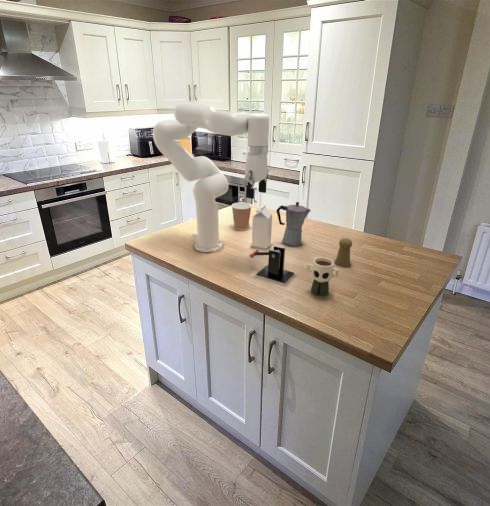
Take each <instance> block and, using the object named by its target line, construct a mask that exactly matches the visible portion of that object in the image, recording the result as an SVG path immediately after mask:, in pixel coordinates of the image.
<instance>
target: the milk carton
mask: <svg viewBox="0 0 490 506" xmlns="http://www.w3.org/2000/svg"><path fill="white" fill-rule="evenodd" d="M272 223H273V213H272V212H271V211H270V210H269V209H268V208H267V206H266V204H264V205H263V206H262V207H261V208H257V209H256V210H255V214H254V215H253V216H252V227H251V228H252V230H251V247H254V248H261V249H269V247H270V246H271V244H272V229H273V228H272V226H273V224H272Z"/></svg>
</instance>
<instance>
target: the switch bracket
mask: <svg viewBox="0 0 490 506" xmlns="http://www.w3.org/2000/svg"><path fill="white" fill-rule="evenodd" d="M274 249H281V252H280V251H276V250H274ZM268 252H269V255H268V259H267V260H268V261H267V262H268V263H267V264H266V265H265V266H264V267H263V268H262V269H261V270H259V271H258V272H257V273H256V276H258V277H260V278H261V277H262V278H264V279H268V280H271V281H275V282H278V283H282V284H286V283H288V281H289V280H290V279H291V278H292V277H293V276H294V275H295V272H294V271H290V270H286V269H285V259H286V258H285V257H286V256H285V255H286V247H284V246H279V245H273V248H272V249H271V248H270V249H269V250H268ZM281 253H282V255H281V256H280V254H281Z"/></svg>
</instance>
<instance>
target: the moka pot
mask: <svg viewBox="0 0 490 506" xmlns="http://www.w3.org/2000/svg"><path fill="white" fill-rule="evenodd" d="M281 210H282V211H285V222H286V224H285V222H282V216H281V212H280V211H281ZM310 212H312V210H311V209H310V208H308V207H305V206H304V205H300V202H299V201H296V202H295V204H289V205H279V207H278V208H277V209H276V215H277V219H278V223H279V225H282V226H286V227H285V230H284V233H283V237H282V239H281V240H282V243H283V244H285V245H287V246H290V247H297V246H300V245H301V244H302V233H303V230H302V228H303V225H304V223H305V220H306V218H307V216H308V215H309V213H310Z"/></svg>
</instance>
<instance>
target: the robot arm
mask: <svg viewBox="0 0 490 506" xmlns="http://www.w3.org/2000/svg"><path fill="white" fill-rule="evenodd" d="M173 115H174V119H165V120H161V121H159V122H157V123H156V124H155V125H154V126H153V129H152V139H153V142H154V144H155V146H156V148H157V149H158V151H159V152H160V153H161V154H162V155H163V156H164V157H165V158H166V159H167V160H168V161H169V162H170V163H171V164H172V166H173V167H174V168H175V169H176V171H177V172H178V173H179V174H180V175H181V176H182V178H184V180H185V181H187V182H195V181H196V182H195V183H194V184H193V188H192V192H193V197H194V198H193V199H194V201H195V211H196V232H197V233H193V234H192V237H191V241H195V243H194V249H195V250H196V251H198V252H200V253H201V252H202V253H213V252H214V251H218V250H219V249H221V248H222V247H223V243H222V242H221V241H220V240H219V239H220V233H219V232H220V231H219V230H220V229H219V226H220V225H219V207H218V204H217V202H216V199H217V198H219V197H221V196H224V195H225V194H226V193H227V192H228V190H229V187H230V186H229V181H228V179H227V177H226V176H225V174H224V173H223V172H222V171H221V170H220V169H219V168H218V166H217V165H216V164H215V163H214V162H213V161H212V160H211V159H210V158H209V157H207V156H205V155H200V156H199V155H198V156H193V155H191V153H189V151H188V150H187V149H186V148H185V147H184V146H183V145H181V144H179V143H177V141H181V140H185V139H188V138H189V137H190V136H191V135H192V134H194V132H196V130H198V129H205V130H207V131H209V132H211V133H212V134H217V135H222V136H229V137H233V136H234V137H235V136H238V135H239V136H240V135H244V134H247V154H246V158H245V159H246V160H245V167H244V168H245V169H244V178H243V181H244V186H245V198H246V199H251V200H253V199H255V184H256V183H258V193H263V194H266V193H267V182H268V177H269V168H268V155H269V138H270V137H269V135H270V134H269V132H270V117H269V115H268V114H265V113H250V112H247V111H242V112H232V113H231V112H230V113H228V112H222V111H216V110H215V108H214V107H213V106H212V105H207V104H203V103H202V102H200V101H183V102H180V103H179V104H177V105H176V106H175V108H174V112H173Z"/></svg>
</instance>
